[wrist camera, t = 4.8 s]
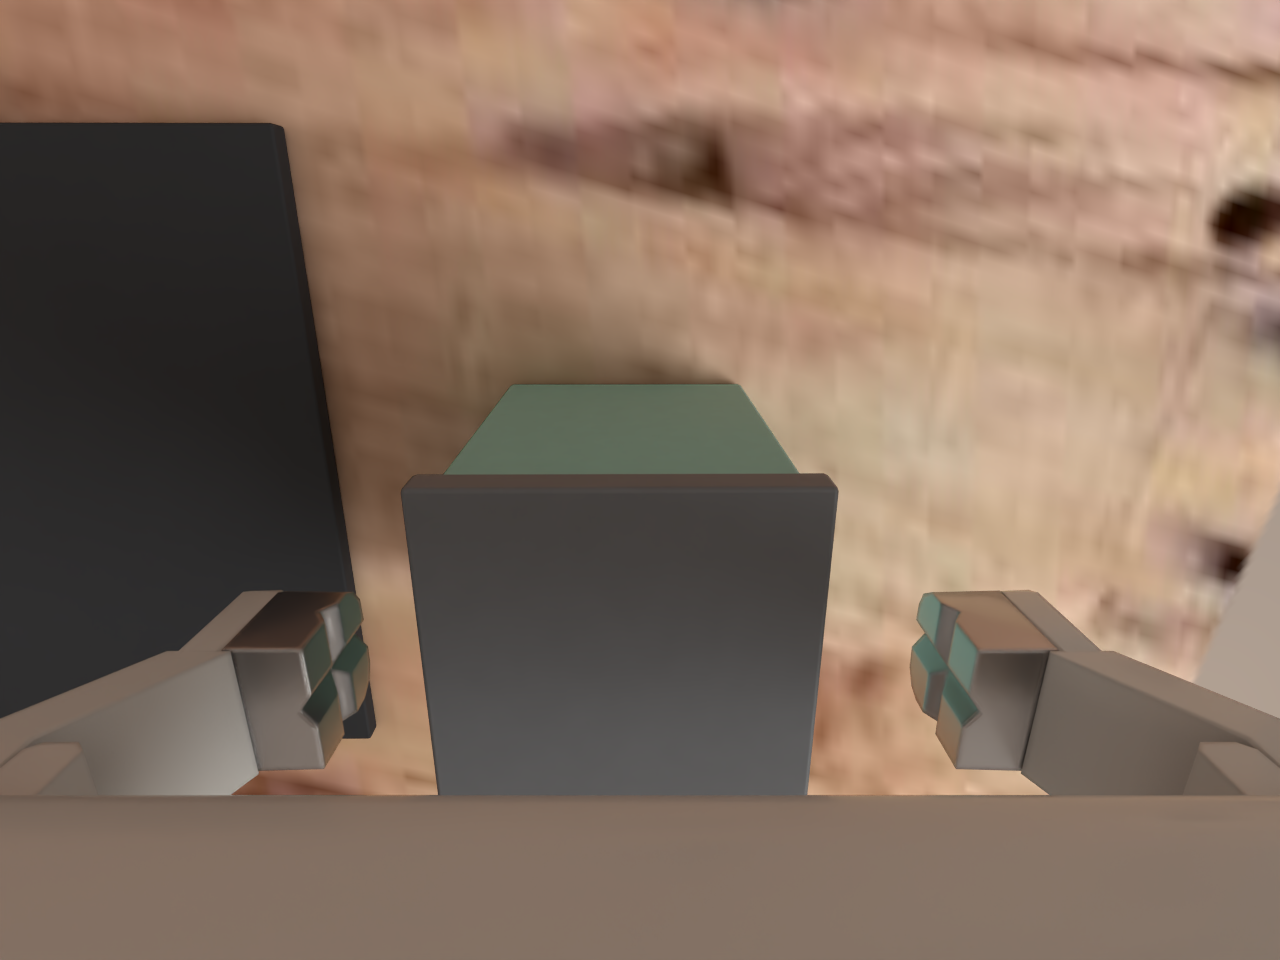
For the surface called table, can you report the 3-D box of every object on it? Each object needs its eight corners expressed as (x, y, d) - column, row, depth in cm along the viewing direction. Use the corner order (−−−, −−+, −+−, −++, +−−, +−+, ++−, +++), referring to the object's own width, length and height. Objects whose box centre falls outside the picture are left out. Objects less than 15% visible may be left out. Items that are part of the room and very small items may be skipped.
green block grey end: (515, 595, 17) (440, 830, 10) (500, 374, 15) (397, 489, 9) (738, 595, 17) (804, 827, 10) (750, 374, 15) (840, 487, 9)
